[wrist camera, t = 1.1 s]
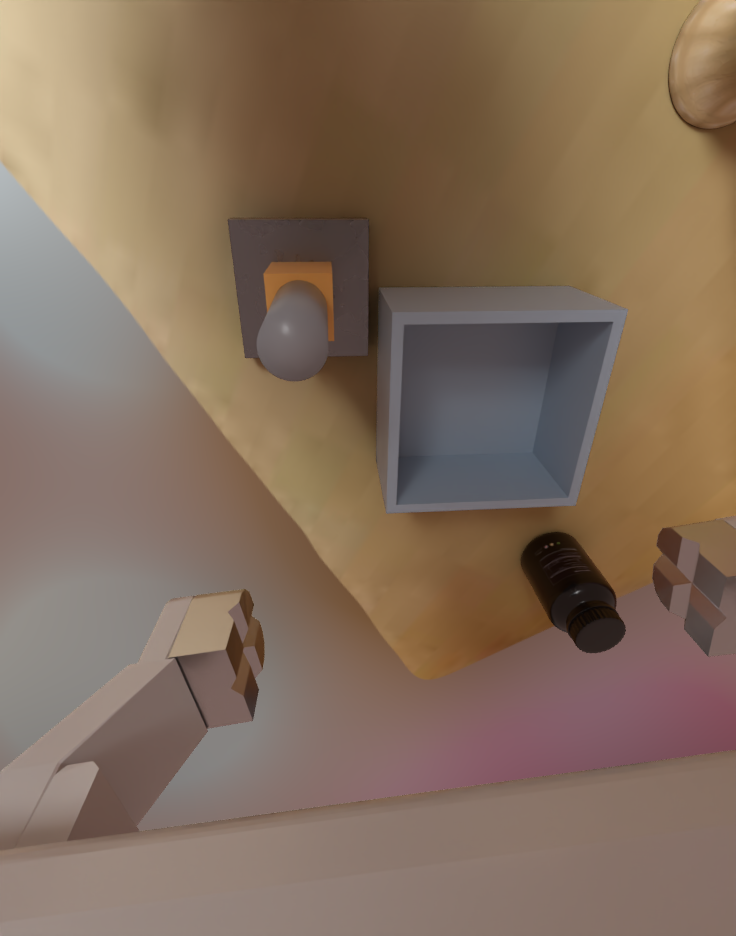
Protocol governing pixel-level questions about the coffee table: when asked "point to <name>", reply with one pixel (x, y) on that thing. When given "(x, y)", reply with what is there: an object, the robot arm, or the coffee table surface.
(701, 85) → the hand bell
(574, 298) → the bin
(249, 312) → the ball stud base
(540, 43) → the coffee table surface
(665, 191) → the coffee table surface
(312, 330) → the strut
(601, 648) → the supplement bottle
